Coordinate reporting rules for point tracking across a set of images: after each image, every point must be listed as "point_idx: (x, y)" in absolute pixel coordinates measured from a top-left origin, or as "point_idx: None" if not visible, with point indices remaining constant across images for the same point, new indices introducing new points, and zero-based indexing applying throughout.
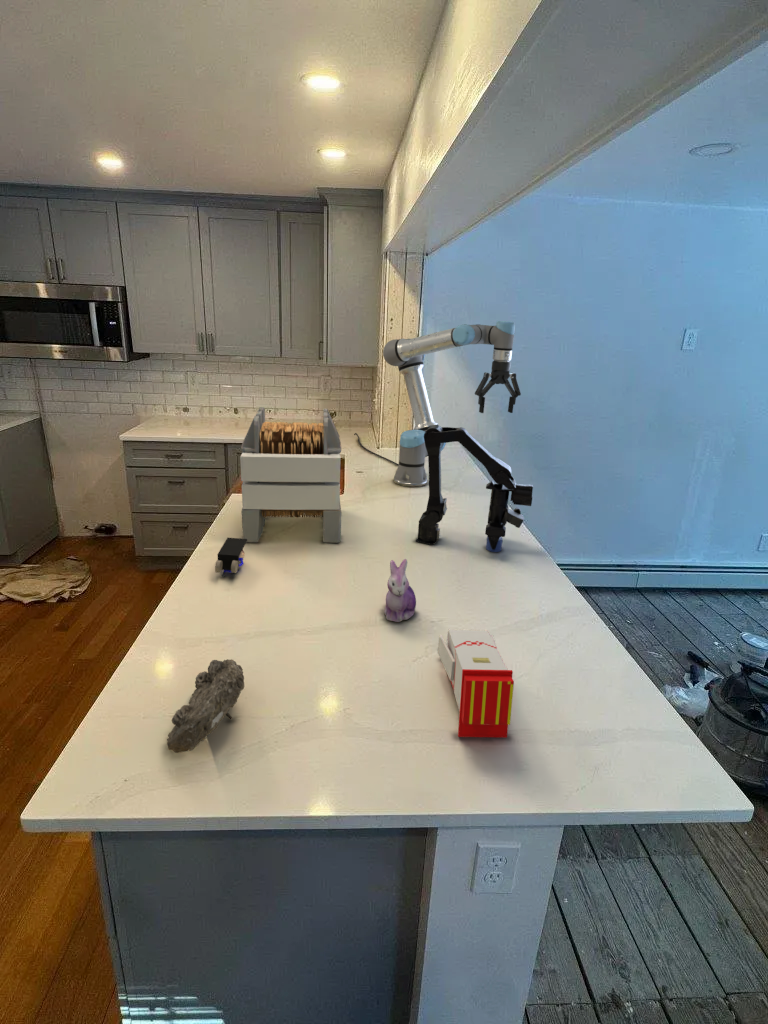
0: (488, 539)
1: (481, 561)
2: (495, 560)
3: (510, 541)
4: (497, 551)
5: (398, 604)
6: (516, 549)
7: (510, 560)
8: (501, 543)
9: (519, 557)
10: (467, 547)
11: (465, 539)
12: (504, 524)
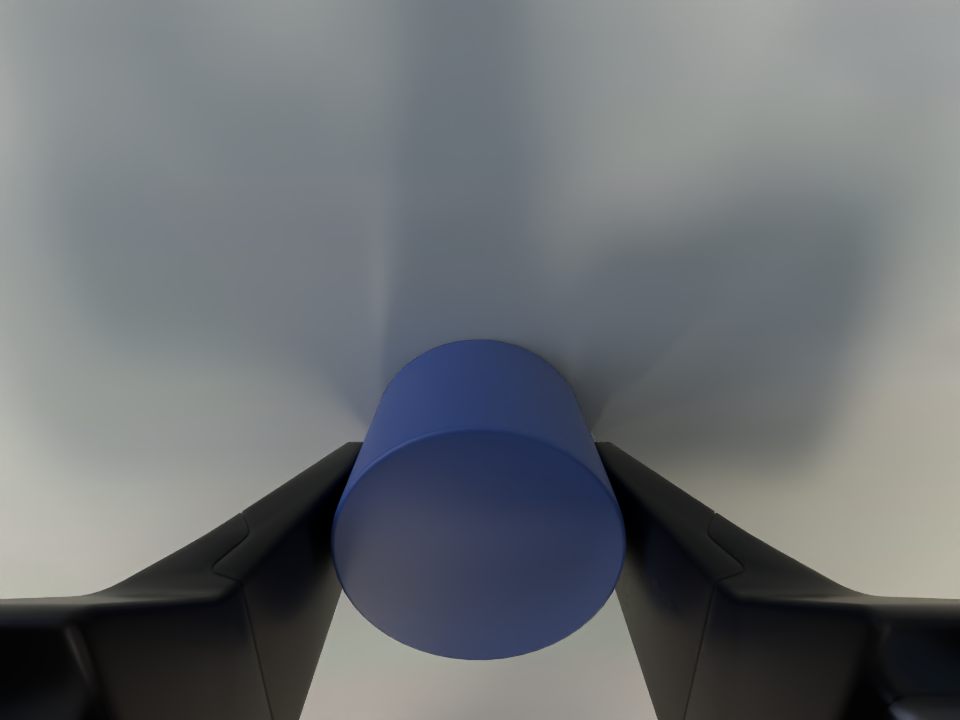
0: (563, 628)
1: (896, 537)
2: (859, 395)
3: (54, 209)
4: (569, 388)
5: None
6: (360, 94)
7: (846, 190)
8: (532, 399)
9: (704, 30)
10: (525, 674)
11: (309, 703)
12: (69, 652)
